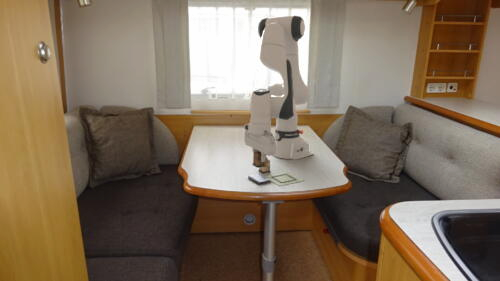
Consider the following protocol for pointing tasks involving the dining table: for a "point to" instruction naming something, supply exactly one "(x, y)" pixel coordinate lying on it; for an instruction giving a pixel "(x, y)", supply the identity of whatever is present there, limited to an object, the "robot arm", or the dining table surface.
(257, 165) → the walnut stamp
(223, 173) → the dining table surface
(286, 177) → the form card
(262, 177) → the ink pad
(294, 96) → the robot arm
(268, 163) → the beech stamp
